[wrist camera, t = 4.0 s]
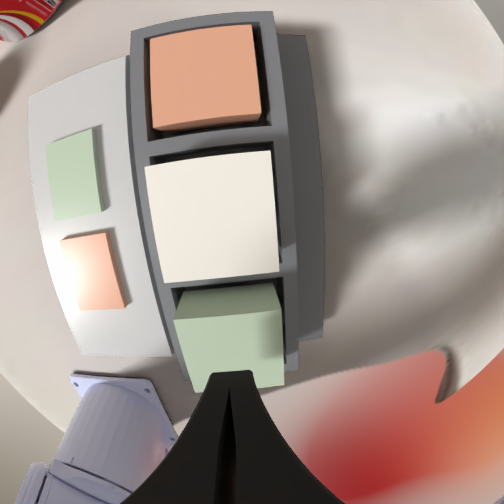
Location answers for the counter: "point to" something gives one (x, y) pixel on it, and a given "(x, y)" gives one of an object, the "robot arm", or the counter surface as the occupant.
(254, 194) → the key ivory
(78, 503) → the robot arm
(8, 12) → the soda can
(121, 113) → the keypad
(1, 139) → the counter surface
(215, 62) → the key terracotta
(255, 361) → the key sage
